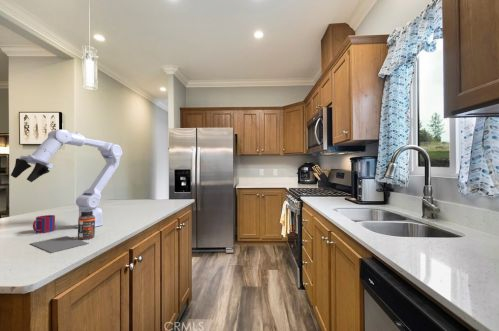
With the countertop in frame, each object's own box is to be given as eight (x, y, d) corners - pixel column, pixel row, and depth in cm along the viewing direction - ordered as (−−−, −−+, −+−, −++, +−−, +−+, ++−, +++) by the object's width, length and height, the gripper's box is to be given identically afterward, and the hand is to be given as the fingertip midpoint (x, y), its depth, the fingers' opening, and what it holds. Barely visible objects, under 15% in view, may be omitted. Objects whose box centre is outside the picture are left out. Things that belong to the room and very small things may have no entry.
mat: (66, 236, 103) (66, 235, 103) (88, 243, 94) (88, 243, 94) (30, 244, 93) (30, 243, 93) (50, 253, 83) (50, 252, 83)
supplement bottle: (81, 241, 97) (82, 212, 97) (74, 238, 100) (75, 211, 100) (97, 237, 102) (98, 210, 102) (90, 235, 105) (91, 209, 106)
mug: (58, 229, 114) (58, 215, 114) (39, 235, 104) (39, 219, 104) (44, 229, 115) (45, 214, 115) (24, 235, 105) (24, 219, 105)
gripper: (23, 142, 102) (-3, 169, 95) (52, 149, 100) (28, 177, 92) (35, 152, 108) (12, 178, 100) (64, 159, 106) (42, 186, 98)
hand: (21, 178), depth 97 cm, fingers open, 7 cm apart
